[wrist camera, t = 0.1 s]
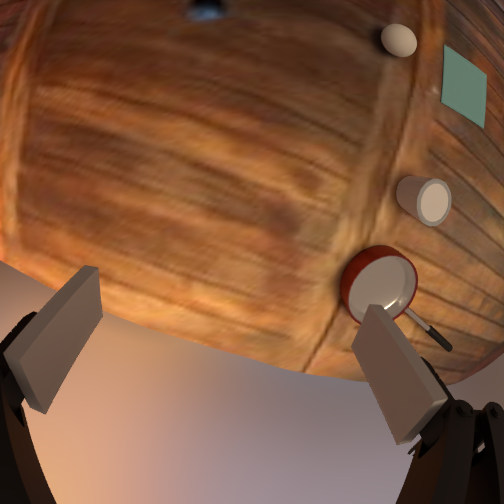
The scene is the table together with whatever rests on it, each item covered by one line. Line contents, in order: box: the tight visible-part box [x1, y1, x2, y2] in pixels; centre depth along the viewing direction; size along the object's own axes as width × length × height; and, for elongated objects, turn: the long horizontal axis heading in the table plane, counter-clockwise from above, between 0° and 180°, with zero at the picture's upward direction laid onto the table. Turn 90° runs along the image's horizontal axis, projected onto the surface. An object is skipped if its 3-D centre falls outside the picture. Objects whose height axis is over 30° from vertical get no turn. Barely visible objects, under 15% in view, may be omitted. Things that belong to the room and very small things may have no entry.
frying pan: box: [340, 246, 453, 352], centre depth 44 cm, size 32×13×6 cm, turn 60°
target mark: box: [441, 45, 487, 129], centre depth 32 cm, size 12×12×1 cm
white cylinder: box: [396, 176, 451, 226], centre depth 36 cm, size 7×7×7 cm
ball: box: [381, 24, 417, 57], centre depth 28 cm, size 6×6×6 cm
